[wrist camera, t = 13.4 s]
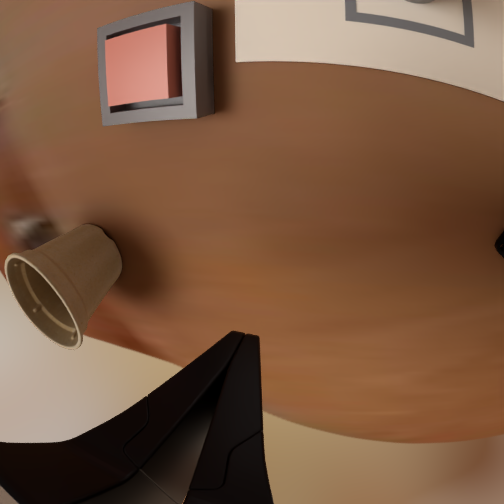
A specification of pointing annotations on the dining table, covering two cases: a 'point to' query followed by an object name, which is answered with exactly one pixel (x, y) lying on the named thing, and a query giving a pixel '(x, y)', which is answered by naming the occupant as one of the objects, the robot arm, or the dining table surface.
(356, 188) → the dining table surface
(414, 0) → the grey cylinder
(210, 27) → the button housing
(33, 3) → the dining table surface
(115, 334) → the dining table surface
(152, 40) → the button
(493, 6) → the paper sheet
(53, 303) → the flower pot
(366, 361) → the dining table surface
